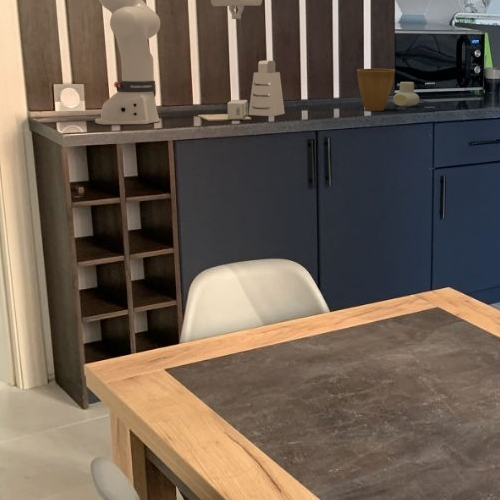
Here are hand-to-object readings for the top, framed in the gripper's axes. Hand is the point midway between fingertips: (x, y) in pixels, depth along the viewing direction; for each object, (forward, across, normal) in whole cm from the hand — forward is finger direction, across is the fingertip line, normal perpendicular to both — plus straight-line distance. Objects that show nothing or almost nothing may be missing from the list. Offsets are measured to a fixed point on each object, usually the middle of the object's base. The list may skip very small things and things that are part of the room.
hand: (236, 19), depth 303 cm
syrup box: (+32, -8, +13) cm, 35 cm away
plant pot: (+35, -34, -48) cm, 69 cm away
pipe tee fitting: (+36, -38, -71) cm, 88 cm away
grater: (+35, -5, -12) cm, 38 cm away
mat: (+35, +1, +7) cm, 36 cm away
